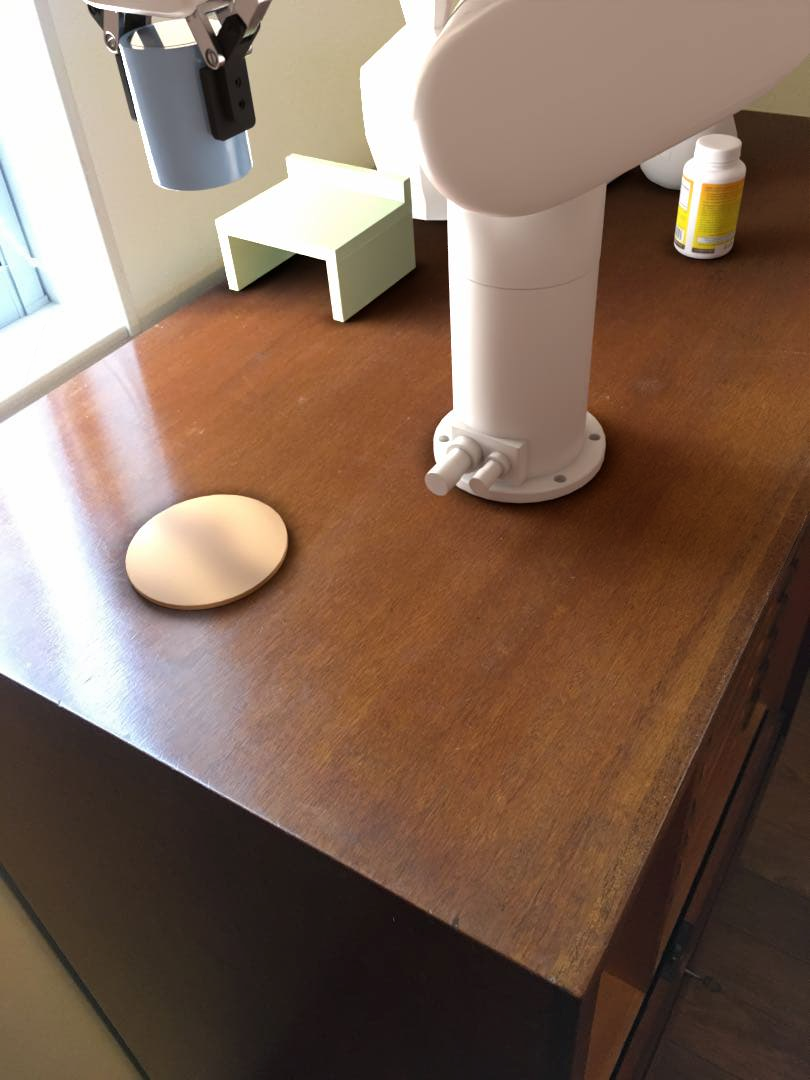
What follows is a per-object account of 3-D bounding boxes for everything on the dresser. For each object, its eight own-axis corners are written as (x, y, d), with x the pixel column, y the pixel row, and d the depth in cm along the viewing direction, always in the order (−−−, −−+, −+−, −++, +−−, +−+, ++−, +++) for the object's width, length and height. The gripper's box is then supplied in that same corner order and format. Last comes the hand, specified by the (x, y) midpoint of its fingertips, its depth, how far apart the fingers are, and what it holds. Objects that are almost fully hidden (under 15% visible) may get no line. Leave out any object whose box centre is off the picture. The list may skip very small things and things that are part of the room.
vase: (510, 182, 106) (513, -79, 89) (487, 238, 96) (486, -44, 79) (389, 178, 109) (370, -75, 92) (355, 231, 99) (326, -41, 82)
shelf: (343, 322, 85) (332, 228, 79) (229, 288, 91) (210, 198, 85) (416, 267, 92) (410, 176, 86) (305, 239, 98) (292, 153, 92)
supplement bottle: (743, 247, 91) (764, 140, 84) (707, 267, 88) (726, 158, 81) (696, 230, 94) (713, 126, 87) (660, 249, 92) (674, 142, 85)
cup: (202, 199, 56) (171, 55, 51) (132, 180, 59) (95, 42, 54) (273, 162, 60) (251, 24, 54) (203, 146, 63) (175, 13, 57)
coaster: (213, 634, 58) (211, 630, 58) (92, 571, 63) (90, 567, 63) (320, 530, 64) (320, 526, 64) (204, 481, 69) (202, 476, 69)
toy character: (616, 172, 106) (626, 57, 98) (696, 154, 108) (713, 41, 100) (666, 205, 99) (682, 85, 91) (750, 185, 101) (773, 66, 93)
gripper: (-57, -241, 47) (57, 123, 60) (178, -256, 39) (254, 170, 51) (61, -256, 52) (144, 87, 64) (295, -271, 44) (339, 125, 56)
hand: (193, 121), depth 58 cm, fingers closed on cup, 6 cm apart
